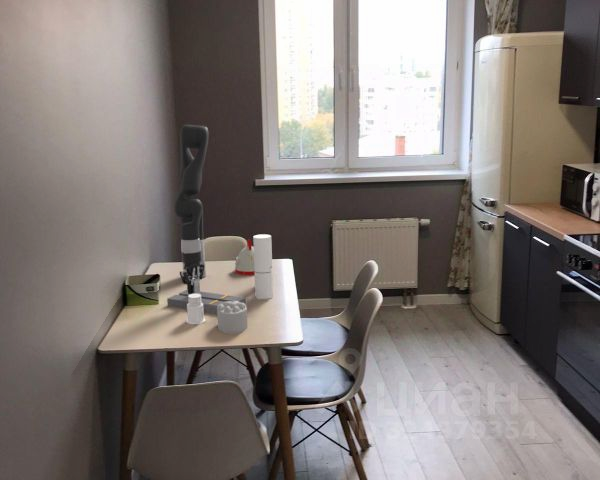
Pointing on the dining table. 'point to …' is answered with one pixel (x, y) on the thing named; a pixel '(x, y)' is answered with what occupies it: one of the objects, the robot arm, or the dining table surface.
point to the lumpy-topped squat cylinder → (232, 317)
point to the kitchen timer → (245, 261)
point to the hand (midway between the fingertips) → (193, 292)
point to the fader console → (203, 300)
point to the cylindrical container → (263, 266)
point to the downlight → (195, 309)
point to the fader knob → (195, 286)
